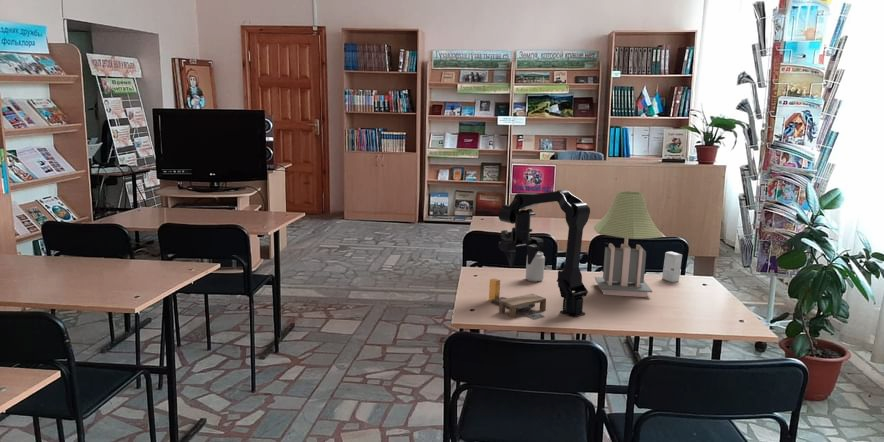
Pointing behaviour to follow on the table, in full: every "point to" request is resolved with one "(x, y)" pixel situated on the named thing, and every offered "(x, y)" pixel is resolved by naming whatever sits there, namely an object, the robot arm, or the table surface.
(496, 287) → the orange grey l-shaped block
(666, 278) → the skincare box
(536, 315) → the steel token
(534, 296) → the small wooden bench
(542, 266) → the can
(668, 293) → the table surface
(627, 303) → the table surface
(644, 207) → the desk lamp
